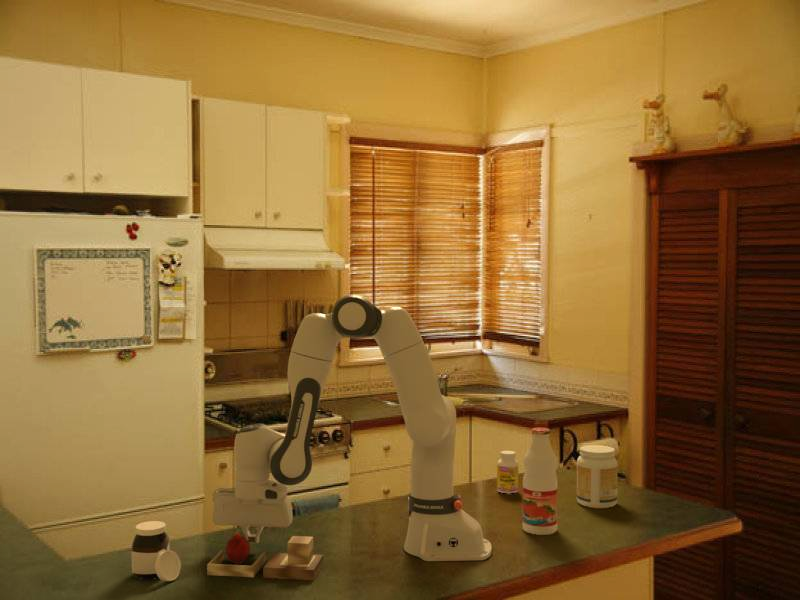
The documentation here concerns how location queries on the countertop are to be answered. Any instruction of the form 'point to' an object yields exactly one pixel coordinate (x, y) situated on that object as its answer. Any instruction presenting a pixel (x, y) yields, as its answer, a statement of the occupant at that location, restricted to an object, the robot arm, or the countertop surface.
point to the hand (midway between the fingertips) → (252, 542)
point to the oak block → (300, 550)
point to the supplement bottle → (507, 473)
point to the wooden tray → (267, 567)
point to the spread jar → (153, 553)
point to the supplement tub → (597, 476)
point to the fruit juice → (540, 485)
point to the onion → (237, 548)
